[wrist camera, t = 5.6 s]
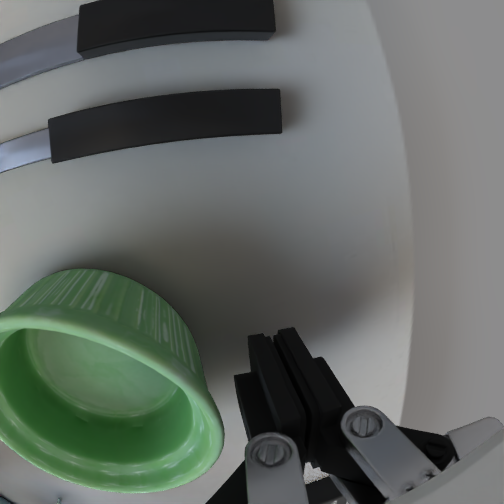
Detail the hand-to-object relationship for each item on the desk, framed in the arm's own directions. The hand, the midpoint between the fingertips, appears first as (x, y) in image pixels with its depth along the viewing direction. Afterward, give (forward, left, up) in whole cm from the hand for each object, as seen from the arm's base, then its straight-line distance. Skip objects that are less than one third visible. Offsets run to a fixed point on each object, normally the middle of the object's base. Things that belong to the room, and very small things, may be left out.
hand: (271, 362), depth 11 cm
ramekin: (0, -7, -2) cm, 7 cm away
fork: (-8, -6, -2) cm, 11 cm away
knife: (-12, -6, -2) cm, 14 cm away
